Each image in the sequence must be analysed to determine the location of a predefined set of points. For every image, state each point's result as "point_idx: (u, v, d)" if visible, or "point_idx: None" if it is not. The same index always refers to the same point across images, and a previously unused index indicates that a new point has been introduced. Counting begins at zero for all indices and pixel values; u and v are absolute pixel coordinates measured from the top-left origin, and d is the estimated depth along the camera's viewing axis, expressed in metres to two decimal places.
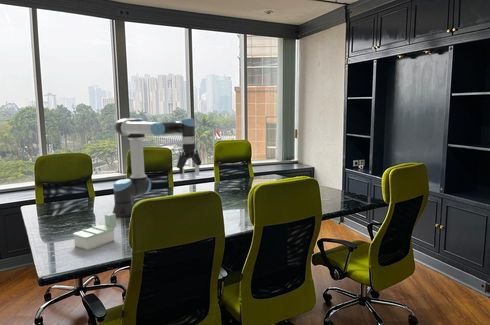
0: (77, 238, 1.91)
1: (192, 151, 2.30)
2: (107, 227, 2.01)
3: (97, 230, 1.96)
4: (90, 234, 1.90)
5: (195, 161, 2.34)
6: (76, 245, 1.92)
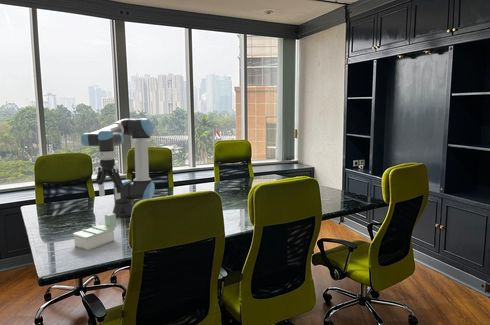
0: (77, 238, 1.91)
1: (108, 169, 1.98)
2: (107, 227, 2.01)
3: (97, 230, 1.96)
4: (90, 234, 1.90)
5: None
6: (76, 245, 1.92)
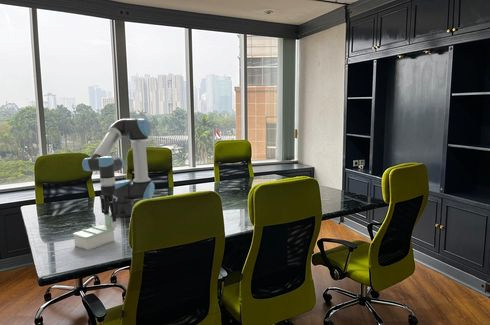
0: (77, 238, 1.91)
1: (109, 194, 1.99)
2: (107, 227, 2.01)
3: (97, 230, 1.96)
4: (90, 234, 1.90)
5: None
6: (76, 245, 1.92)
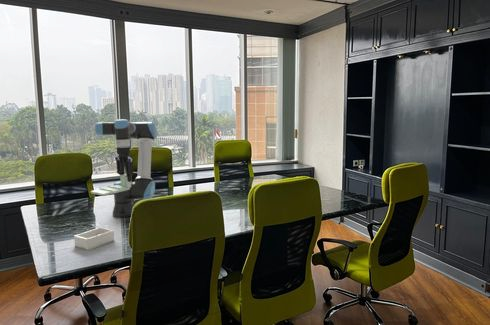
0: (77, 238, 1.91)
1: (124, 155, 2.10)
2: (122, 186, 2.12)
3: (113, 189, 2.07)
4: (107, 191, 2.01)
5: None
6: (76, 245, 1.92)
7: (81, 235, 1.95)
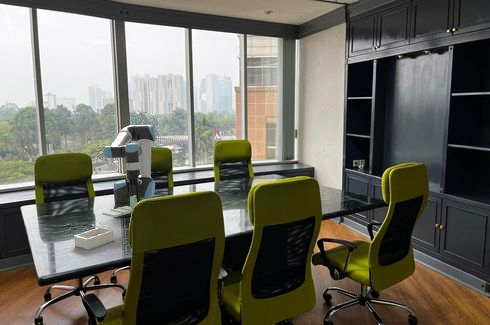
0: (77, 238, 1.91)
1: (134, 177, 2.19)
2: (132, 207, 2.20)
3: (124, 210, 2.15)
4: (118, 213, 2.09)
5: None
6: (76, 245, 1.92)
7: (81, 235, 1.95)
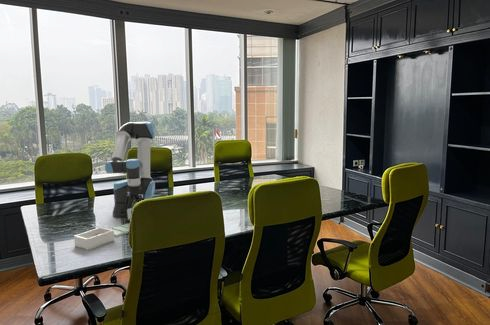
0: (77, 238, 1.91)
1: (135, 194, 2.21)
2: None
3: (125, 228, 2.17)
4: (120, 232, 2.11)
5: None
6: (76, 245, 1.92)
7: (81, 235, 1.95)
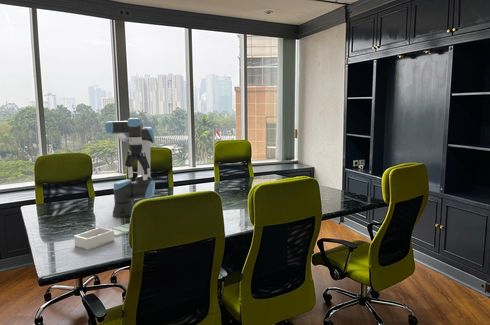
0: (77, 238, 1.91)
1: (136, 153, 2.21)
2: None
3: (125, 228, 2.17)
4: (120, 232, 2.11)
5: None
6: (76, 245, 1.92)
7: (81, 235, 1.95)
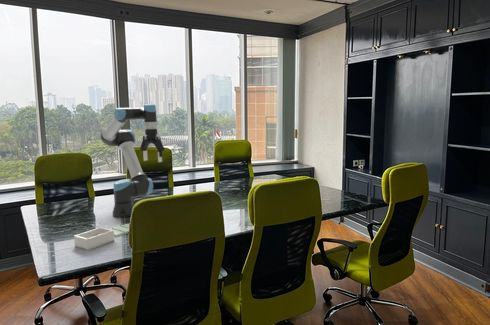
0: (77, 238, 1.91)
1: (152, 136, 2.36)
2: None
3: (125, 228, 2.17)
4: (120, 232, 2.11)
5: (157, 147, 2.36)
6: (76, 245, 1.92)
7: (81, 235, 1.95)
